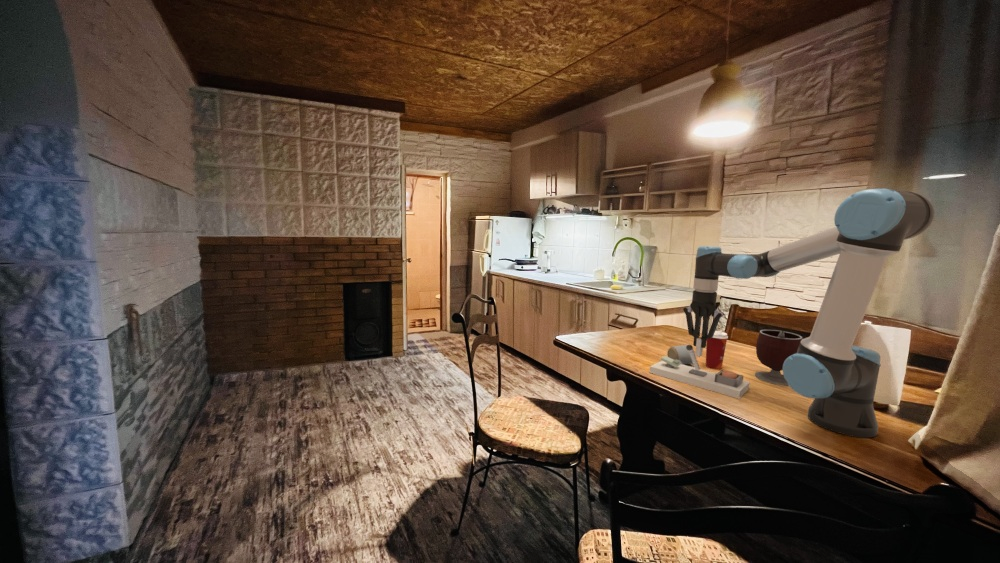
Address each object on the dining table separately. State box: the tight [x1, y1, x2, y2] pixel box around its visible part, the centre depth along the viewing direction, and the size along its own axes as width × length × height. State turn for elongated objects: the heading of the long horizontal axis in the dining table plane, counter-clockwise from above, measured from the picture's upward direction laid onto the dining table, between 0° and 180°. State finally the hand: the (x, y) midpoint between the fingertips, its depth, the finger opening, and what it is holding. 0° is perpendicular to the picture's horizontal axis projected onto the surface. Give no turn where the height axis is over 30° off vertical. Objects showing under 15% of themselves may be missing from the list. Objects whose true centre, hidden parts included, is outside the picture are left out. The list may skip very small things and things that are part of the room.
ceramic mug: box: [666, 344, 696, 368], centre depth 159 cm, size 11×8×8 cm
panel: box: [649, 360, 751, 400], centre depth 143 cm, size 30×12×5 cm, turn 45°
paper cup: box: [705, 330, 729, 370], centre depth 158 cm, size 8×8×14 cm
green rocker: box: [660, 355, 680, 367], centre depth 150 cm, size 6×4×2 cm, turn 45°
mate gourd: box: [754, 329, 803, 387], centre depth 146 cm, size 16×14×20 cm
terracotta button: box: [722, 370, 738, 379], centre depth 136 cm, size 4×4×2 cm
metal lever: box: [686, 344, 701, 370], centre depth 144 cm, size 2×2×9 cm
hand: (698, 355), depth 142 cm, fingers closed
